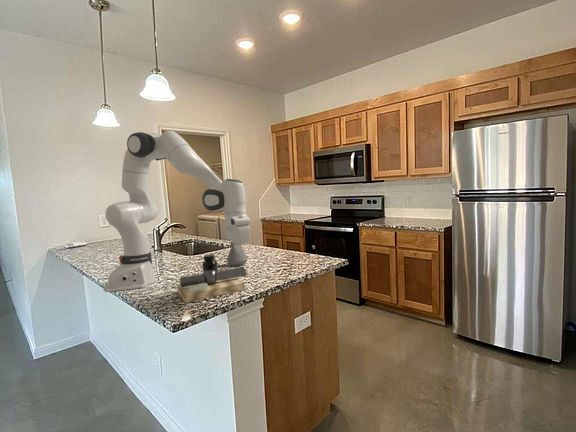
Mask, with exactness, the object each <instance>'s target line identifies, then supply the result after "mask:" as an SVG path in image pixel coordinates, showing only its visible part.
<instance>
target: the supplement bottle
mask: <svg viewBox="0 0 576 432" xmlns="http://www.w3.org/2000/svg"><path fill="white" fill-rule="evenodd" d="M201 266H202V273H203V272H204V271H206V270H215V271H219V268H218V261H217V260H216V259H215V254H206V255H204V256H203V262H202V264H201Z"/></svg>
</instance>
